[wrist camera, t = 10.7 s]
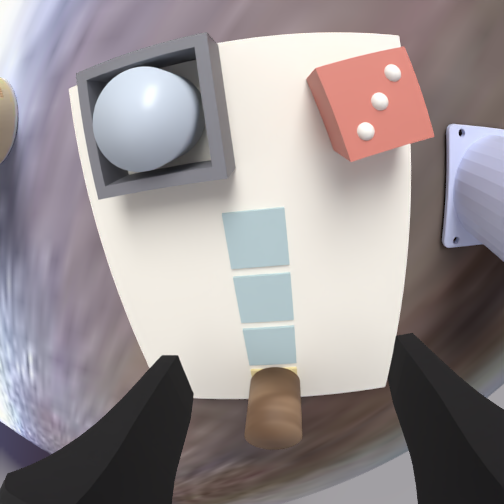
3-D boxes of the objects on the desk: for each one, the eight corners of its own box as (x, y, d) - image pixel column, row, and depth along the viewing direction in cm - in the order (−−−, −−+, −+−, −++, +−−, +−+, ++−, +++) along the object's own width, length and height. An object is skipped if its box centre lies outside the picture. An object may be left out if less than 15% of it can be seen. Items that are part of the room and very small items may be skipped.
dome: (199, 64, 13) (182, 54, 11) (212, 153, 15) (198, 162, 13) (116, 86, 14) (86, 84, 11) (129, 168, 16) (103, 180, 13)
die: (375, 59, 13) (406, 45, 9) (400, 129, 14) (437, 137, 10) (306, 79, 14) (316, 67, 10) (333, 150, 15) (352, 163, 11)
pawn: (293, 362, 21) (295, 418, 17) (304, 393, 23) (307, 445, 18) (243, 371, 22) (236, 426, 18) (259, 401, 23) (254, 451, 19)
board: (391, 39, 13) (419, 24, 9) (382, 376, 23) (392, 412, 20) (79, 88, 15) (40, 89, 12) (166, 386, 26) (154, 420, 22)
